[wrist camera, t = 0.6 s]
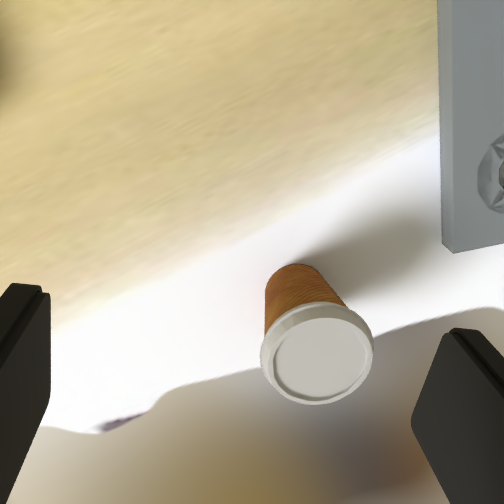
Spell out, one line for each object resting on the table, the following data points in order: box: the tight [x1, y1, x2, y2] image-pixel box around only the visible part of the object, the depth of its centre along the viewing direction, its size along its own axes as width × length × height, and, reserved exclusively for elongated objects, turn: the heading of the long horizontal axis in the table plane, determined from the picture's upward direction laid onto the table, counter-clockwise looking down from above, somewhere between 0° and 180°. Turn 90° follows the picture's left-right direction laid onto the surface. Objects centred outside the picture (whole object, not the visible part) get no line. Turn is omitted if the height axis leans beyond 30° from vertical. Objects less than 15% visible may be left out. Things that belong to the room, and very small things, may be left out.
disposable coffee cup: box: [260, 264, 374, 405], centre depth 44 cm, size 10×10×12 cm
